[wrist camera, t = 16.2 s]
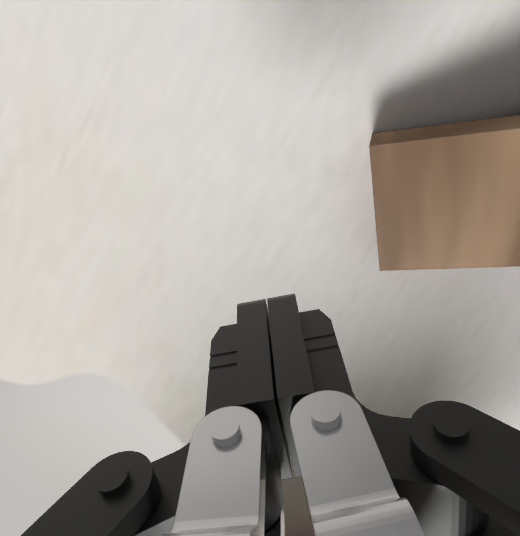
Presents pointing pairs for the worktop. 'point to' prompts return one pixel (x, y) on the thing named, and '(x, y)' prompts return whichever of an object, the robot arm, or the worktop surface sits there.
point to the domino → (448, 195)
